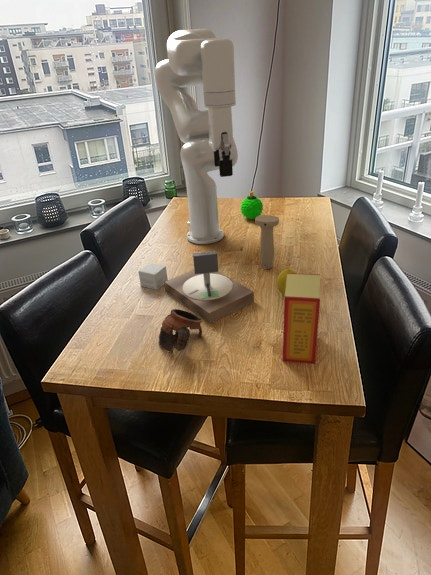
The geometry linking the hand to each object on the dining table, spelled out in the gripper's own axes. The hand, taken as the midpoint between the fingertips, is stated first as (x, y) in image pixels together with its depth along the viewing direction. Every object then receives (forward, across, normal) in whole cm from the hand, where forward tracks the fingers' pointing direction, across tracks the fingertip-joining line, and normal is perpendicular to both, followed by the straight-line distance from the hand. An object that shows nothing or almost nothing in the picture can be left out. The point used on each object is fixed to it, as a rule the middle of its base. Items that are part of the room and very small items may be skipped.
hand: (223, 170), depth 109 cm
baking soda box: (+28, +40, +9) cm, 50 cm away
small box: (+29, +4, -22) cm, 36 cm away
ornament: (+28, -35, +14) cm, 47 cm away
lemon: (+28, +19, +12) cm, 37 cm away
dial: (+25, +15, -8) cm, 30 cm away
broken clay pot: (+29, +33, -16) cm, 46 cm away
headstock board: (+28, +15, -8) cm, 33 cm away
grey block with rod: (+25, +17, -8) cm, 31 cm away
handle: (+28, +3, +11) cm, 31 cm away
